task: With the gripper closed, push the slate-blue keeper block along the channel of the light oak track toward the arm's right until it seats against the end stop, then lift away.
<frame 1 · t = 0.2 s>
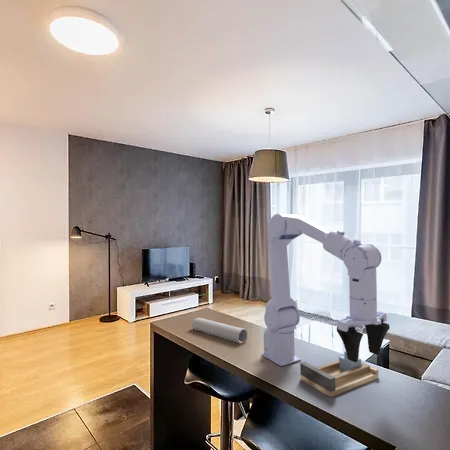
hand: (363, 356, 69), 10 cm above the breakfast bar, tool pointing down, fingers open, 7 cm apart
keeper: (349, 360, 82), point 4 cm above the breakfast bar, slide at 4.2 cm
tube: (216, 336, 113), on the breakfast bar
track: (339, 378, 80), on the breakfast bar
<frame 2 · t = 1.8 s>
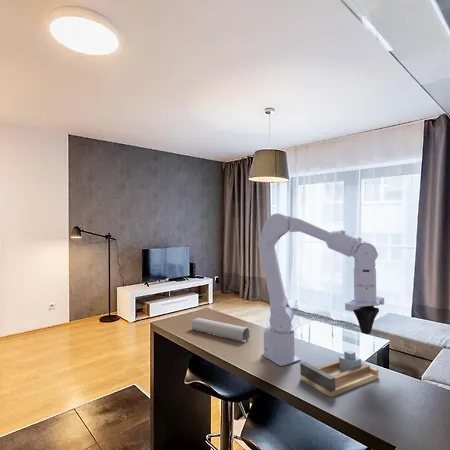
hand: (365, 333, 85), 10 cm above the breakfast bar, tool pointing down, fingers closed
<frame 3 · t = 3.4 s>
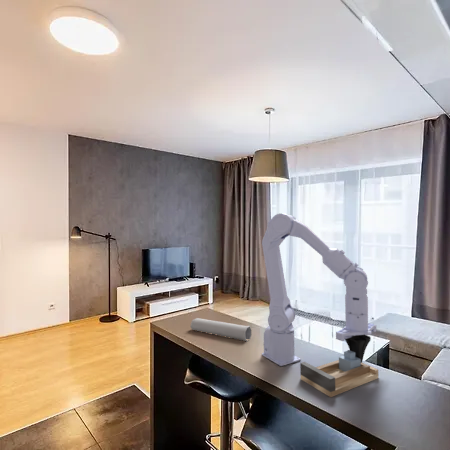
hand: (357, 361, 83), 3 cm above the breakfast bar, tool pointing down, fingers closed
keeper: (349, 360, 82), point 4 cm above the breakfast bar, slide at 4.1 cm, touching gripper
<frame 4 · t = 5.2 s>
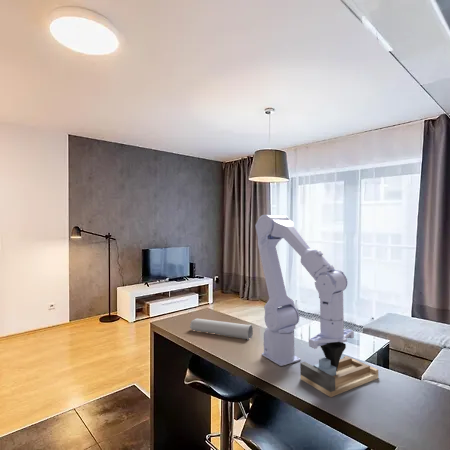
hand: (332, 370, 78), 3 cm above the breakfast bar, tool pointing down, fingers closed
keeper: (324, 369, 77), point 4 cm above the breakfast bar, slide at -5.4 cm, touching gripper, track
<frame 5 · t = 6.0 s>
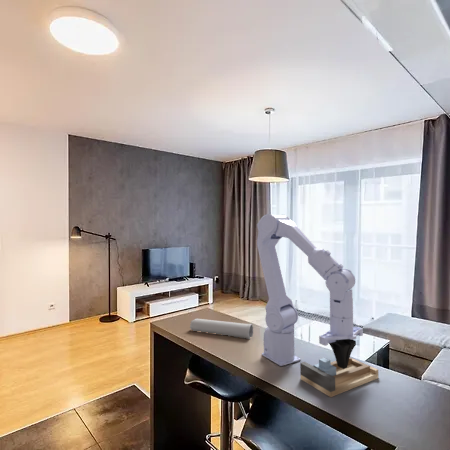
hand: (342, 366, 80), 3 cm above the breakfast bar, tool pointing down, fingers closed
keeper: (324, 369, 77), point 4 cm above the breakfast bar, slide at -5.4 cm, touching track
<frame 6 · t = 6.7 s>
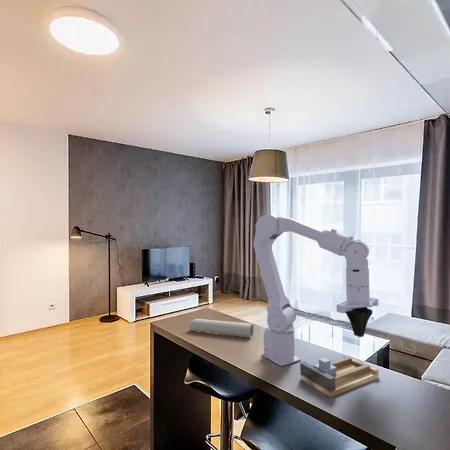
hand: (358, 335, 81), 11 cm above the breakfast bar, tool pointing down, fingers closed
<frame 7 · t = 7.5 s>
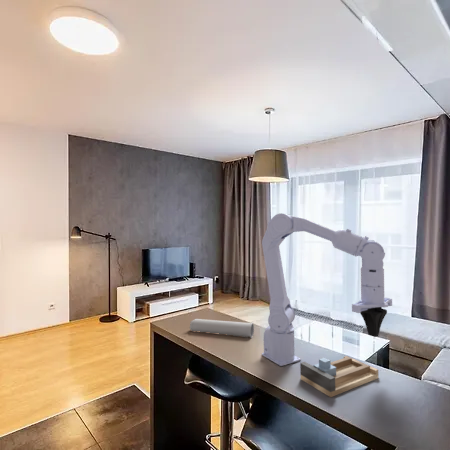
hand: (373, 335, 82), 10 cm above the breakfast bar, tool pointing down, fingers closed
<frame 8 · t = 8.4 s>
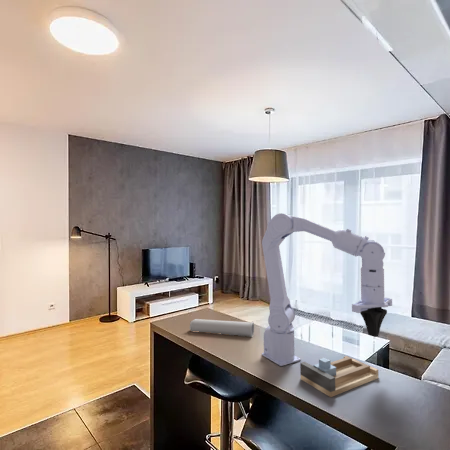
hand: (373, 335, 82), 10 cm above the breakfast bar, tool pointing down, fingers closed
at the end: keeper slide at -5.4 cm; the gripper is holding nothing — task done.
